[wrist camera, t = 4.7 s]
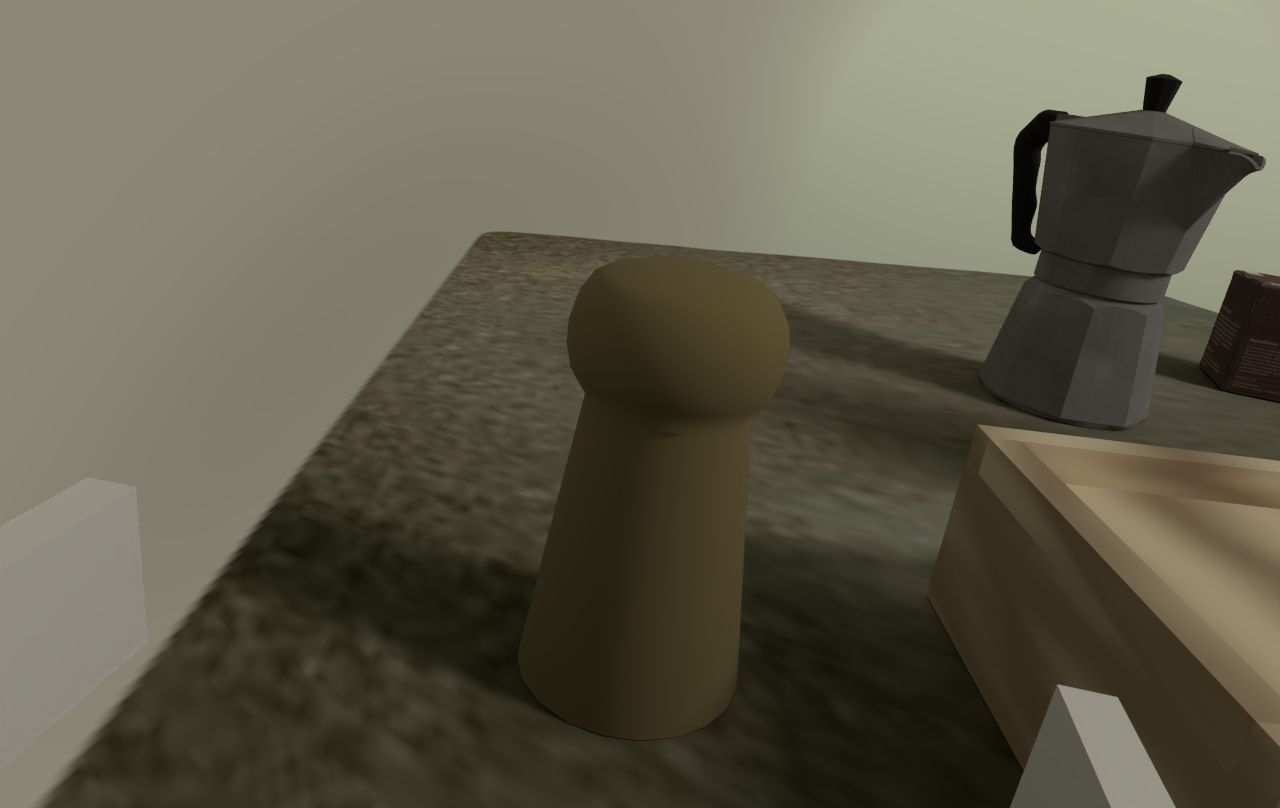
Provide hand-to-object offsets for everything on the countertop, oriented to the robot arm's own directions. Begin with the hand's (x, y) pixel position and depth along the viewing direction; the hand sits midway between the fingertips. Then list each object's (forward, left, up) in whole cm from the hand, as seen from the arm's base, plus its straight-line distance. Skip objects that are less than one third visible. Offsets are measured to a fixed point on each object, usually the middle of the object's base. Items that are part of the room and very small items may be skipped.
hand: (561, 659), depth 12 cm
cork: (-2, -10, -7) cm, 12 cm away
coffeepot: (-27, -39, -7) cm, 48 cm away
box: (-45, -46, -7) cm, 64 cm away
